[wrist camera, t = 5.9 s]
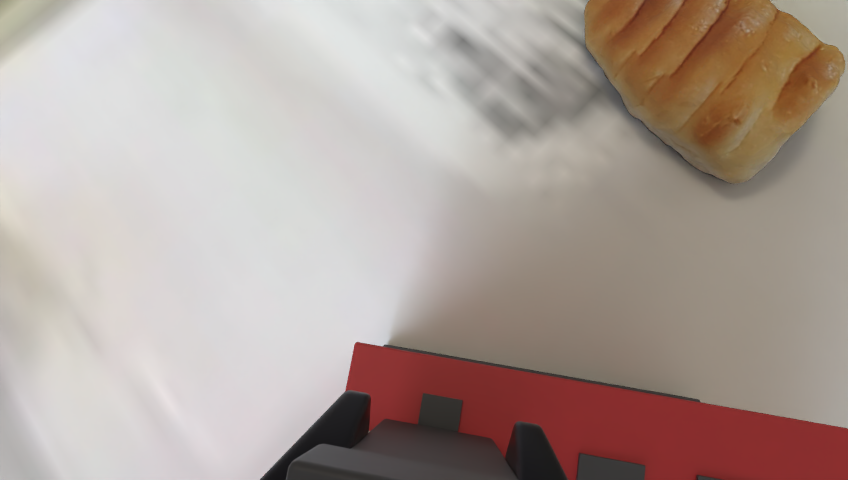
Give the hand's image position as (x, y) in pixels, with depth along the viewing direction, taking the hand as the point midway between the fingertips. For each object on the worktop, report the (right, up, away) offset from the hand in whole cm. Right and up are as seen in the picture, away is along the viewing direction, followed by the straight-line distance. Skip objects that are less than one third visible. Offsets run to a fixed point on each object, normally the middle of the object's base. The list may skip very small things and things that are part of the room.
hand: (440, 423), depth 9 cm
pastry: (+11, +9, +13) cm, 19 cm away
